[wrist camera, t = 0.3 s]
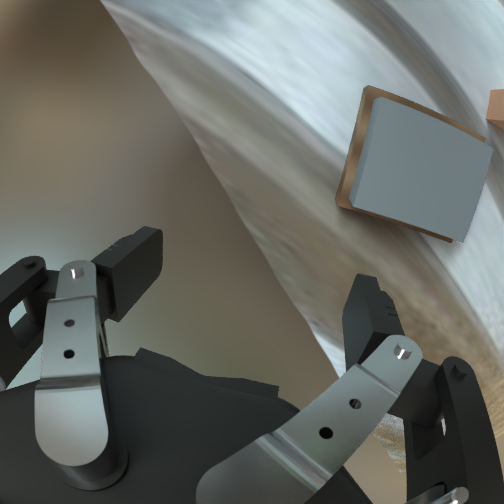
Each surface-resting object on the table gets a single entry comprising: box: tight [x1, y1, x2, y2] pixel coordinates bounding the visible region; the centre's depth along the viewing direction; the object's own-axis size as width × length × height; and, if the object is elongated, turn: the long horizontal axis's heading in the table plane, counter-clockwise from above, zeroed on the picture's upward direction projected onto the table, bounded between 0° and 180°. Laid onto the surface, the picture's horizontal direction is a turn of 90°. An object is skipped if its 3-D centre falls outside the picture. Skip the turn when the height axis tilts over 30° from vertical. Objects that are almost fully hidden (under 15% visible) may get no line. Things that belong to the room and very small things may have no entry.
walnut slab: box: [335, 85, 486, 243], centre depth 34 cm, size 16×18×4 cm
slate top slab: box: [349, 97, 493, 243], centre depth 30 cm, size 13×16×4 cm
